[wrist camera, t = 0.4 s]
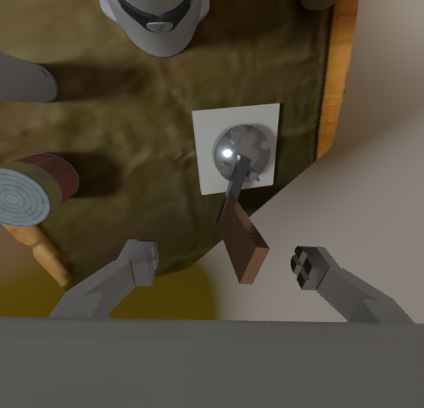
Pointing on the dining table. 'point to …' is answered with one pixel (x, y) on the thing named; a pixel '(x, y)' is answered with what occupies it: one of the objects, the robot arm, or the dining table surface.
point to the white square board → (220, 120)
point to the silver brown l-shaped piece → (231, 210)
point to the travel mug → (25, 81)
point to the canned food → (34, 188)
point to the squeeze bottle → (317, 4)
